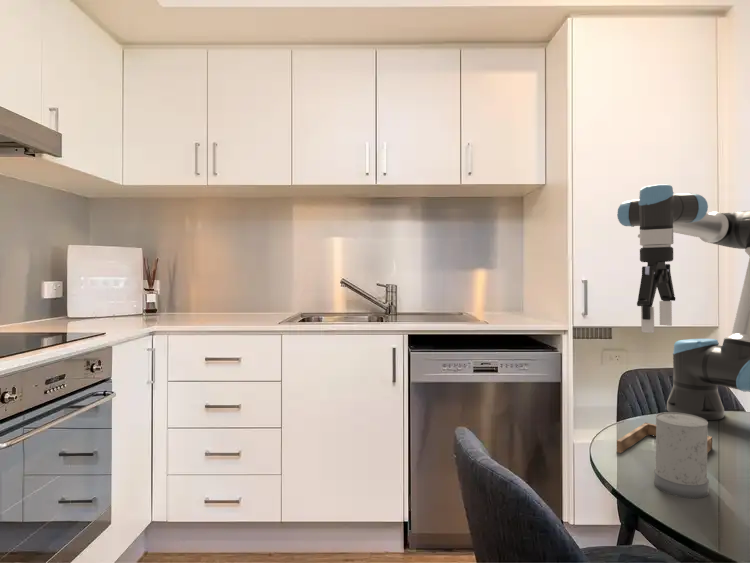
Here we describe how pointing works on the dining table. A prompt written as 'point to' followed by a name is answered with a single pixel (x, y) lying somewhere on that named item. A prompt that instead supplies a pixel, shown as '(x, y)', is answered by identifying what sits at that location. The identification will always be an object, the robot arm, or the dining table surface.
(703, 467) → the grey marbled pot
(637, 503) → the dining table surface
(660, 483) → the pedestal
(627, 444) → the frame
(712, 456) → the dining table surface
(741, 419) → the dining table surface
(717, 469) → the dining table surface
